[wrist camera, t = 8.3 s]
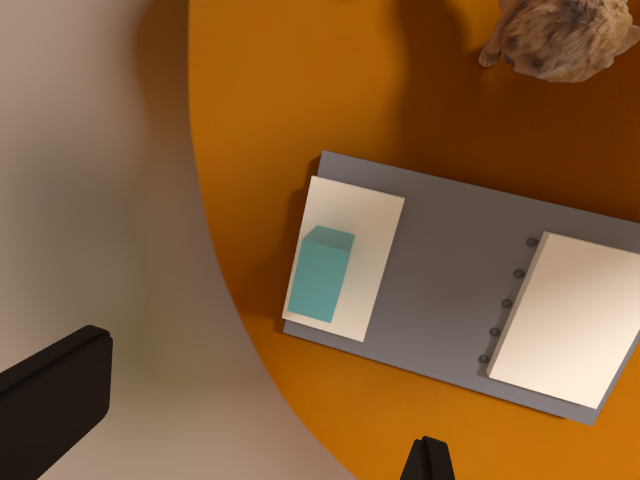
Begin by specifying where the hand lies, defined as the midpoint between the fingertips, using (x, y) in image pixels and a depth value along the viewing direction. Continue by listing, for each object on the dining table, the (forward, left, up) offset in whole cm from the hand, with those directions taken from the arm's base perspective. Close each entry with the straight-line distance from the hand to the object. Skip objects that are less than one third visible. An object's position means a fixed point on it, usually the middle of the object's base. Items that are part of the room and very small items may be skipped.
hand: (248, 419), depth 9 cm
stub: (-1, 0, -18) cm, 18 cm away
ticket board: (-10, 0, -19) cm, 22 cm away
